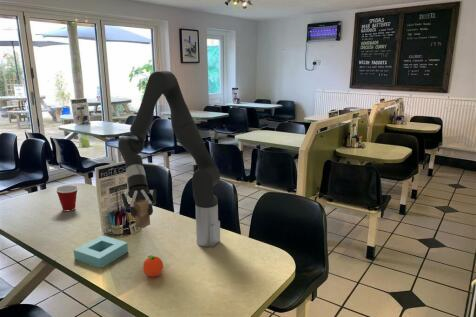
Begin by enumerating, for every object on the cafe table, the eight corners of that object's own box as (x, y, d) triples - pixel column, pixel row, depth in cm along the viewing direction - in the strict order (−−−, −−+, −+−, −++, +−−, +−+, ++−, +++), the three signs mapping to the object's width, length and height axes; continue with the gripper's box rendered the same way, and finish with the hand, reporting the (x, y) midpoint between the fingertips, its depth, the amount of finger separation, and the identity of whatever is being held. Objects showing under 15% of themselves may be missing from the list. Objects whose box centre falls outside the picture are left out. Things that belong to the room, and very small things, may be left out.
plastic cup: (75, 213, 181) (72, 191, 178) (54, 213, 181) (51, 191, 178) (84, 205, 191) (81, 184, 188) (64, 205, 191) (61, 184, 188)
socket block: (127, 251, 143) (127, 242, 142) (100, 268, 131) (99, 258, 130) (103, 243, 149) (102, 235, 148) (74, 259, 137) (73, 249, 136)
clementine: (139, 272, 128) (138, 255, 126) (157, 266, 132) (156, 249, 130) (148, 283, 122) (147, 264, 120) (166, 276, 126) (165, 258, 124)
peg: (150, 224, 140) (148, 200, 138) (143, 228, 137) (141, 204, 135) (142, 222, 142) (140, 199, 140) (135, 226, 139) (133, 202, 136)
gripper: (117, 175, 139) (123, 214, 131) (154, 171, 144) (162, 208, 136) (118, 184, 145) (123, 222, 137) (153, 180, 150) (160, 216, 142)
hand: (142, 215), depth 137 cm, fingers closed on peg, 5 cm apart
